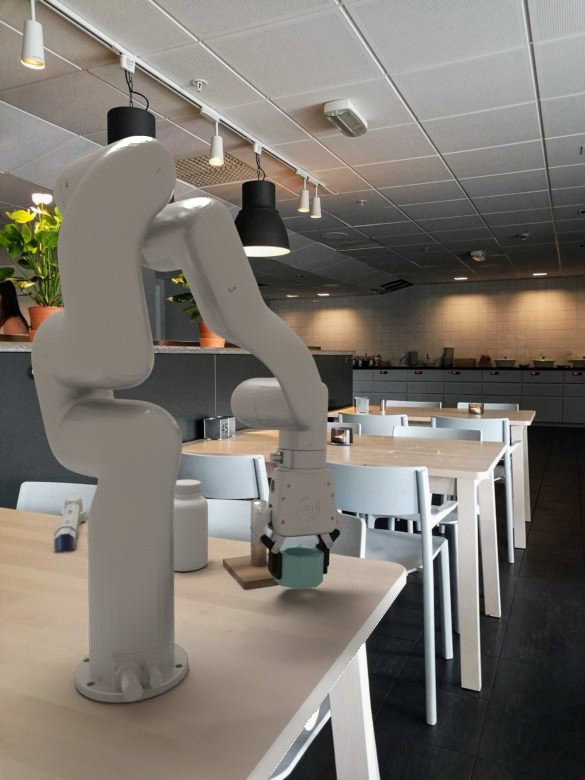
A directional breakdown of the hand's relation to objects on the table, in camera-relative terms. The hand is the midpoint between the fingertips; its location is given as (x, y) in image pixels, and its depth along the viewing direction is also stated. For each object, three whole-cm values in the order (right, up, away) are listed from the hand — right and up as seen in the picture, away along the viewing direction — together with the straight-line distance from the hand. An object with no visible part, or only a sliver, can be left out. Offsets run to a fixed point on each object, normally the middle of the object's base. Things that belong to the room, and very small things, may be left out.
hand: (298, 573), depth 90 cm
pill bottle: (-20, -3, +14) cm, 25 cm away
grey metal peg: (-7, -2, +11) cm, 13 cm away
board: (-6, -3, +10) cm, 12 cm away
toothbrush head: (-48, -3, +33) cm, 58 cm away
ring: (0, -1, 0) cm, 1 cm away
